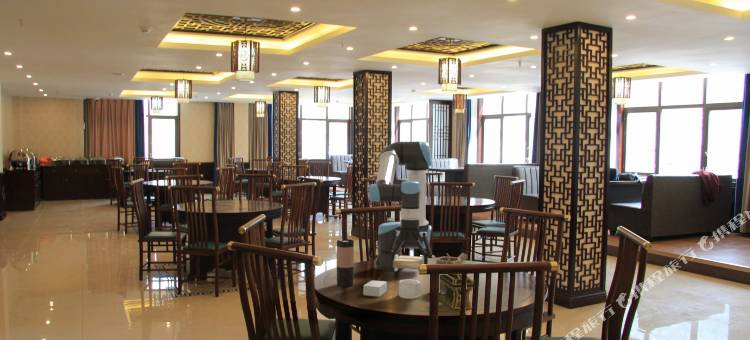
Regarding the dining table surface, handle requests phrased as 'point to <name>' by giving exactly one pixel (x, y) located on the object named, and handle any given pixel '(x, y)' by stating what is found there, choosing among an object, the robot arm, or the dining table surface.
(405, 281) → the bowl
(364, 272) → the dining table surface
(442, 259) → the tankard
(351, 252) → the travel mug
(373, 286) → the white rectangular block
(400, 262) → the lid
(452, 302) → the decorative box
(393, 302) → the dining table surface
